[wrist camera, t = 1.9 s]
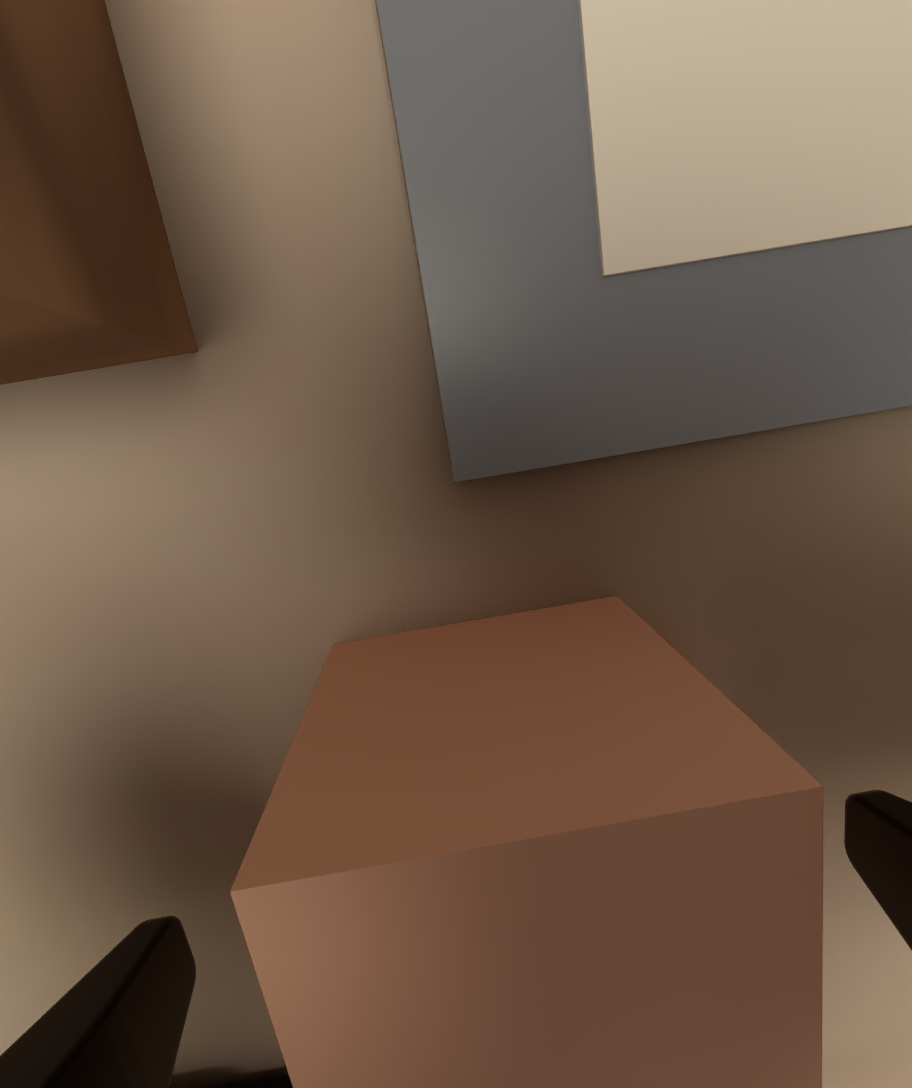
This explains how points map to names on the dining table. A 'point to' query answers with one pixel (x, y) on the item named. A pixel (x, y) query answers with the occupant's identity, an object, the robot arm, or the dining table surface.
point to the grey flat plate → (655, 217)
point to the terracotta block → (536, 869)
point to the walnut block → (77, 203)
